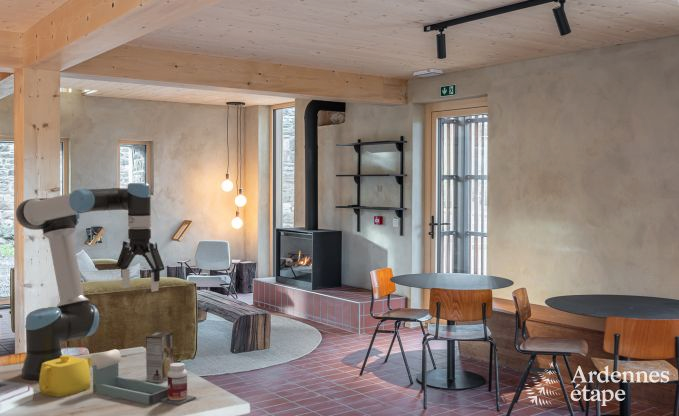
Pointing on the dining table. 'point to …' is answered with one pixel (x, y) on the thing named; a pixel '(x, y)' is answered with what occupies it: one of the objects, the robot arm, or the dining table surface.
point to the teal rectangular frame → (122, 381)
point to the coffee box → (159, 355)
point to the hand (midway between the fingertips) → (140, 289)
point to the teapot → (65, 376)
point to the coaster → (178, 400)
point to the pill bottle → (177, 382)
